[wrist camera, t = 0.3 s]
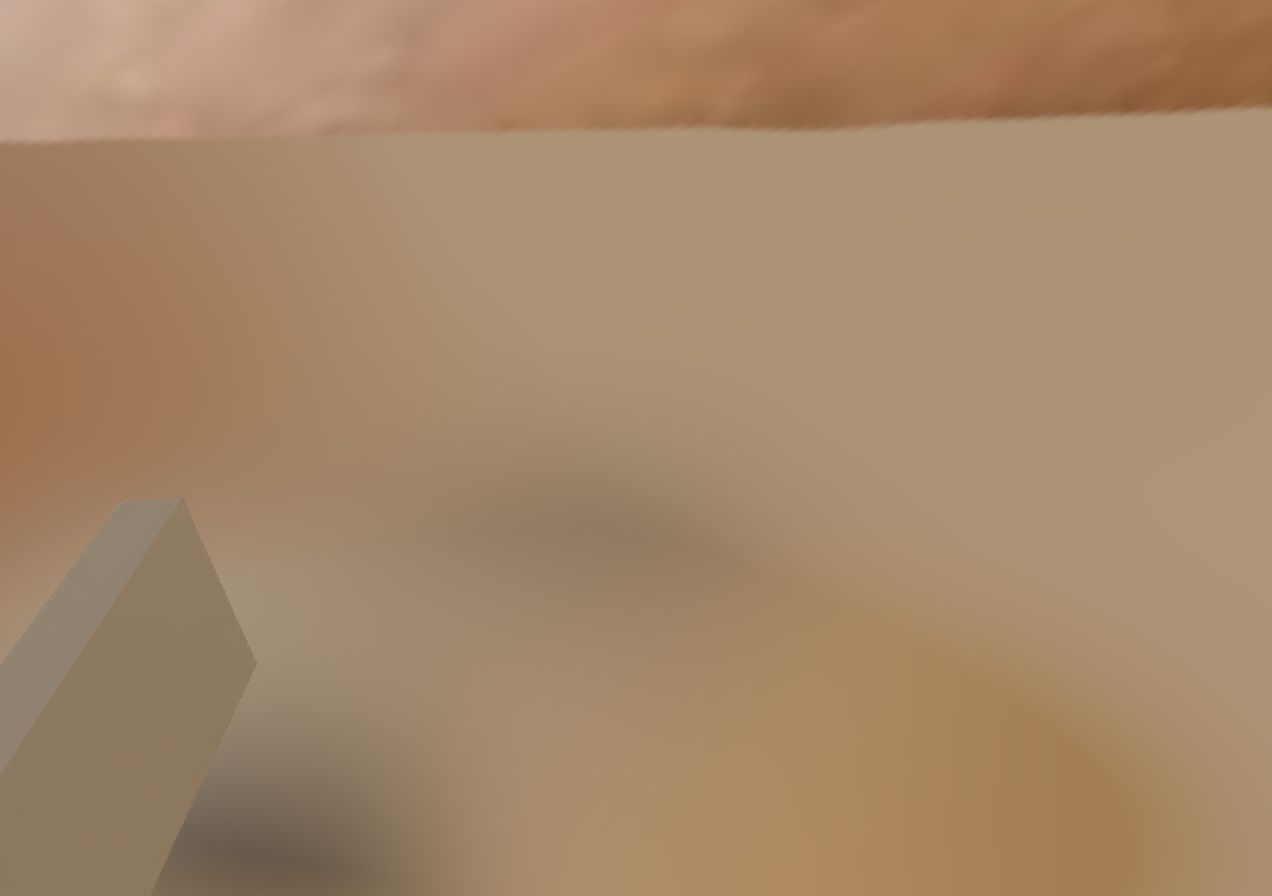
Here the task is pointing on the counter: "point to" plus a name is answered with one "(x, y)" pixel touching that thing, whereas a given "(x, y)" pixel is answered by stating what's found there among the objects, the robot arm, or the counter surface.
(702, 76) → the counter surface
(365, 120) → the counter surface
